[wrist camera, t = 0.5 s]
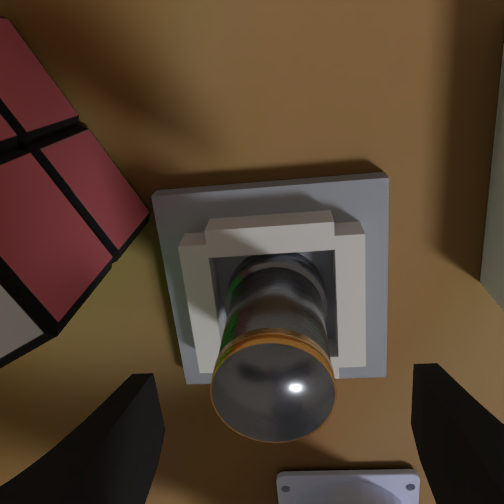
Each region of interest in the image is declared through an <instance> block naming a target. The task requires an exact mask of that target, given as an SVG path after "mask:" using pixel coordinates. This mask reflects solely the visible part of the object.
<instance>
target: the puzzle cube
mask: <svg viewBox="0 0 504 504" xmlns="http://www.w3.org/2000/svg"><path fill="white" fill-rule="evenodd" d="M78 119H79V115H78V114H77V112H76V111H75V110H74V108H73V107H72V106H71V104H70V103H69V101H68V100H67V99H66V97H65V96H64V95H63V93H62V92H61V91H60V89H59V88H58V86H57V85H56V84H55V82H54V81H53V80H52V78H51V77H50V76H49V74H48V73H47V71H46V70H45V69H44V67H43V66H42V65H41V63H40V62H39V61H38V59H37V58H36V57H35V55H34V54H33V52H32V51H31V50H30V48H29V47H28V46H27V44H26V43H25V42H24V40H23V39H22V37H21V36H20V35H19V33H18V32H17V31H16V29H15V28H14V27H13V25H12V24H11V22H10V21H9V20H8V18H4V17H0V368H2V367H3V366H5V365H7V364H9V363H11V362H12V361H14V360H16V359H18V358H19V357H21V356H23V355H25V354H26V353H28V352H30V351H32V350H33V349H35V348H37V347H39V346H40V345H42V344H44V343H46V342H47V341H49V340H51V339H53V338H54V337H56V336H58V335H59V333H60V332H61V331H62V330H63V328H64V327H65V326H66V325H67V323H68V322H69V321H70V319H71V318H72V317H73V316H74V314H75V313H76V312H77V311H78V309H79V308H80V307H81V306H82V304H83V303H84V302H85V301H86V299H87V298H88V297H89V296H90V294H91V293H92V292H93V291H94V289H95V288H96V287H97V286H98V284H99V283H100V282H101V281H102V279H103V278H104V277H105V276H106V274H107V273H108V272H109V270H110V269H111V267H112V263H114V262H116V261H117V260H118V259H119V258H120V257H121V255H122V254H123V253H124V252H125V250H126V249H127V248H128V247H129V245H130V244H131V243H132V241H133V240H134V239H135V238H136V236H137V235H138V234H139V233H140V231H141V230H142V229H143V228H144V226H145V225H146V224H147V223H148V221H149V214H150V212H149V210H148V209H147V208H146V206H145V205H144V204H143V202H142V201H141V200H140V198H139V197H138V196H137V194H136V193H135V191H134V190H133V189H132V187H131V186H130V185H129V183H128V182H127V181H126V179H125V178H124V176H123V175H122V174H121V172H120V171H119V170H118V168H117V167H116V166H115V164H114V163H113V161H112V160H111V159H110V157H109V156H108V155H107V153H106V152H105V151H104V149H103V148H102V146H101V145H100V144H99V142H98V141H97V140H96V138H95V137H94V136H93V134H92V133H91V131H90V130H89V129H88V128H84V127H79V126H78Z"/></svg>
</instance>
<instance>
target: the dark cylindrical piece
mask: <svg viewBox="0 0 504 504" xmlns="http://www.w3.org/2000/svg"><path fill="white" fill-rule="evenodd" d="M225 312H226V317H227V318H226V322H225V327H224V332H223V336H222V341H221V345H220V350H219V355H218V358H217V360H216V362H215V366H214V371H213V375H212V380H211V384H210V397H211V401H212V405H213V407H214V409H215V411H216V413H217V415H218V416H219V417H220V419H221V420H222V421H223V422H224V423H225V424H226V425H227V426H228V427H229V428H231V429H232V430H233V431H235V432H237V433H238V434H240V435H242V436H244V437H247V438H249V439H252V440H256V441H260V442H267V443H286V442H291V441H295V440H299V439H302V438H304V437H307V436H309V435H310V434H312V433H314V432H315V431H317V430H318V429H319V428H321V427H322V426H323V425H324V424H325V423H326V421H327V420H328V419H329V418H330V416H331V414H332V412H333V410H334V407H335V404H336V398H337V391H336V383H335V377H334V370H333V367H332V363H331V360H330V353H329V346H328V339H327V332H326V325H325V320H326V316H327V299H326V293H325V287H324V282H323V279H322V276H321V274H320V272H319V271H318V269H317V268H316V267H315V265H314V264H313V263H312V262H311V261H310V260H308V259H307V258H306V257H304V256H302V255H300V254H299V253H296V252H293V253H278V254H263V255H250V256H248V257H247V258H246V259H244V260H243V261H242V262H241V263H240V264H239V265H238V266H237V268H236V269H235V271H234V272H233V274H232V277H231V280H230V284H229V288H228V292H227V296H226V301H225Z"/></svg>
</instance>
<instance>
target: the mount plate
mask: <svg viewBox="0 0 504 504" xmlns="http://www.w3.org/2000/svg"><path fill="white" fill-rule="evenodd" d="M151 199H152V204H153V210H154V215H155V220H156V225H157V231H158V236H159V241H160V247H161V252H162V257H163V263H164V268H165V273H166V278H167V284H168V289H169V294H170V300H171V305H172V310H173V315H174V321H175V326H176V331H177V337H178V342H179V347H180V353H181V358H182V363H183V368H184V374H185V379H186V384H187V385H188V384H211V380H212V375H213V371H214V366H215V362H216V360H217V358H218V355H219V350H220V345H221V341H222V336H223V332H224V327H225V322H226V318H227V317H226V312H225V301H226V296H227V292H228V288H229V284H230V280H231V277H232V274H233V272H234V271H235V269H236V268H237V266H238V265H239V264H240V263H241V262H242V261H243V260H244V259H246V258H247V257H248V256H250V255H263V254H278V253H293V252H296V253H299V254H300V255H302V256H304V257H306V258H307V259H308V260H310V261H311V262H312V263H313V264H314V265H315V267H316V268H317V269H318V271H319V272H320V274H321V276H322V279H323V282H324V287H325V293H326V299H327V316H326V320H325V325H326V332H327V339H328V346H329V353H330V360H331V363H332V367H333V370H334V377H335V379H344V378H370V377H386V359H387V289H388V220H389V177H388V176H387V174H386V173H385V172H375V173H362V174H350V175H337V176H325V177H312V178H300V179H287V180H275V181H263V182H250V183H238V184H225V185H213V186H200V187H188V188H175V189H163V190H156V191H155V193H154V194H153V195H152V196H151Z"/></svg>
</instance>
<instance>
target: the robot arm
mask: <svg viewBox="0 0 504 504" xmlns="http://www.w3.org/2000/svg"><path fill="white" fill-rule="evenodd" d="M411 426H412V430H413V434H414V438H415V443H416V446H417V450H418V454H419V458H420V461H421V464H422V467H423V469H424V472H425V475H426V477H427V480H428V483H429V485H430V488H431V491H432V493H433V496H434V498H435V501H436V504H504V424H503V423H501V422H500V421H499V420H498V419H497V418H496V417H494V416H493V415H492V414H491V413H490V412H489V411H488V410H487V409H485V408H484V407H483V406H482V405H481V404H480V403H479V402H478V401H476V400H475V399H474V398H473V397H472V396H471V395H470V394H469V393H468V392H467V391H466V390H465V389H464V388H463V387H462V386H460V385H459V384H458V383H457V382H456V381H455V380H454V379H453V378H452V377H451V376H450V375H449V374H448V373H447V372H446V371H445V370H444V369H443V368H442V367H441V366H440V365H439V364H437V363H431V364H414V370H413V392H412V413H411ZM164 432H165V427H164V422H163V417H162V413H161V408H160V403H159V398H158V394H157V389H156V384H155V379H154V374H153V373H148V374H132V375H131V376H130V377H129V378H128V379H127V380H126V381H125V382H124V383H123V384H122V385H121V386H120V387H118V388H117V389H116V390H115V391H114V392H113V393H112V394H111V395H110V396H109V397H108V398H107V399H106V400H105V401H104V402H103V403H102V404H101V405H100V406H99V407H98V408H97V409H96V410H95V411H94V412H93V413H92V414H91V415H90V416H89V417H88V418H87V419H86V420H84V421H83V422H82V423H81V424H80V425H79V426H78V427H77V428H75V429H74V430H73V431H72V432H71V433H70V434H69V435H67V436H66V437H65V438H64V439H63V440H62V441H61V442H59V443H58V444H57V445H56V446H55V447H54V448H52V449H51V450H50V451H49V452H48V453H46V454H45V455H44V456H42V457H41V458H40V459H39V460H37V461H36V462H35V463H33V464H32V465H31V466H29V467H28V468H27V469H25V470H24V471H22V472H21V473H20V474H18V475H17V476H15V477H14V478H13V479H11V480H9V481H8V482H6V483H5V484H3V485H2V486H0V504H145V502H146V499H147V496H148V493H149V490H150V487H151V484H152V481H153V478H154V475H155V472H156V469H157V466H158V462H159V457H160V453H161V448H162V443H163V438H164ZM276 484H277V493H278V503H279V504H418V503H419V485H420V479H419V475H418V473H417V472H416V471H415V470H413V469H383V470H332V471H284V472H280V473H278V475H277V477H276ZM408 484H410V485H408ZM284 486H287V487H284Z"/></svg>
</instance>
